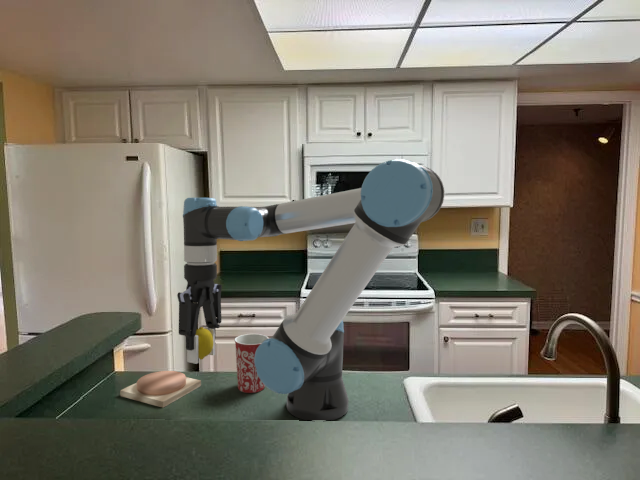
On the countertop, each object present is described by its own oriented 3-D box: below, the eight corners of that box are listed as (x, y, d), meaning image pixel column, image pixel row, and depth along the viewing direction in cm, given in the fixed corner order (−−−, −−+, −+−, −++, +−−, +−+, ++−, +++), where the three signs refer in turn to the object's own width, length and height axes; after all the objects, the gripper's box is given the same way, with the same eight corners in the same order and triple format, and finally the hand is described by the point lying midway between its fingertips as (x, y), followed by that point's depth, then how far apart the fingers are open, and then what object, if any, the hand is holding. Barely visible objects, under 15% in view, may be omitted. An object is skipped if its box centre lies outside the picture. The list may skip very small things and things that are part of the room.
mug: (250, 398, 111) (250, 346, 110) (227, 388, 117) (227, 338, 116) (284, 383, 121) (285, 335, 120) (261, 374, 127) (262, 328, 126)
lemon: (214, 355, 109) (214, 323, 108) (211, 363, 103) (211, 330, 103) (191, 355, 108) (191, 324, 107) (187, 363, 103) (187, 330, 102)
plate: (201, 385, 118) (201, 375, 118) (163, 407, 105) (163, 395, 105) (160, 376, 123) (160, 366, 123) (120, 396, 111) (120, 384, 110)
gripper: (212, 257, 114) (212, 344, 116) (159, 266, 97) (161, 368, 99) (236, 259, 111) (236, 349, 113) (186, 269, 94) (187, 374, 96)
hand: (201, 358), depth 106 cm, fingers closed on lemon, 5 cm apart
